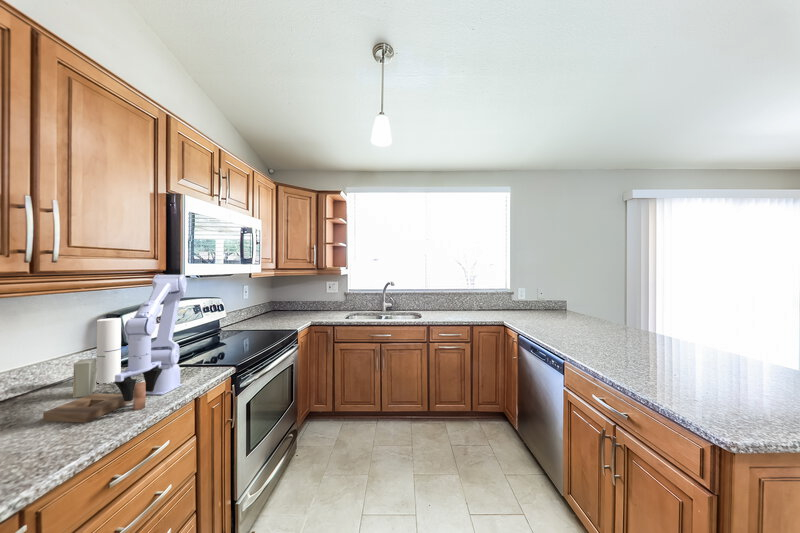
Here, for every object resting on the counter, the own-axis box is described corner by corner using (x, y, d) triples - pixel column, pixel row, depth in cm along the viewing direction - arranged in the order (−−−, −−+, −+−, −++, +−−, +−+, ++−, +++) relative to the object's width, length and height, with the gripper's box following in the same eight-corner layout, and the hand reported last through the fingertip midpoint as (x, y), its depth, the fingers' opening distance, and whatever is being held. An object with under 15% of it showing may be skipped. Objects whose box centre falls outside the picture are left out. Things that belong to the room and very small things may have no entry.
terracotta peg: (139, 405, 102) (139, 381, 102) (147, 406, 102) (148, 382, 102) (130, 410, 99) (131, 385, 99) (139, 410, 99) (139, 385, 99)
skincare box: (80, 392, 113) (81, 359, 113) (96, 390, 115) (97, 357, 115) (72, 398, 108) (72, 363, 108) (89, 396, 110) (89, 362, 110)
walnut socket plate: (93, 400, 106) (93, 393, 106) (131, 402, 105) (131, 394, 105) (43, 420, 92) (43, 412, 92) (86, 422, 91) (86, 414, 91)
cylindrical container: (118, 381, 124) (119, 319, 124) (94, 385, 120) (95, 321, 120) (122, 376, 130) (122, 317, 130) (98, 379, 126) (99, 318, 126)
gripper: (148, 348, 108) (147, 387, 108) (105, 360, 93) (105, 405, 93) (167, 348, 107) (166, 387, 107) (127, 361, 93) (126, 406, 93)
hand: (139, 396), depth 100 cm, fingers open, 7 cm apart
